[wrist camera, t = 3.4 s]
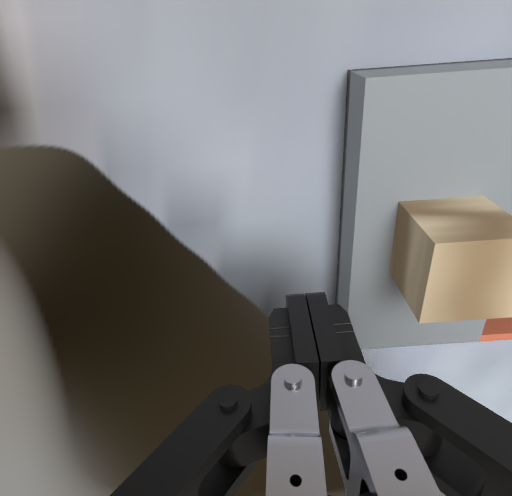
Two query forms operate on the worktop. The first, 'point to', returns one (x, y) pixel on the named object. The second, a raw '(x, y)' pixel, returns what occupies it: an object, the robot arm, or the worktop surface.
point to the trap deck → (417, 182)
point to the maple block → (453, 259)
